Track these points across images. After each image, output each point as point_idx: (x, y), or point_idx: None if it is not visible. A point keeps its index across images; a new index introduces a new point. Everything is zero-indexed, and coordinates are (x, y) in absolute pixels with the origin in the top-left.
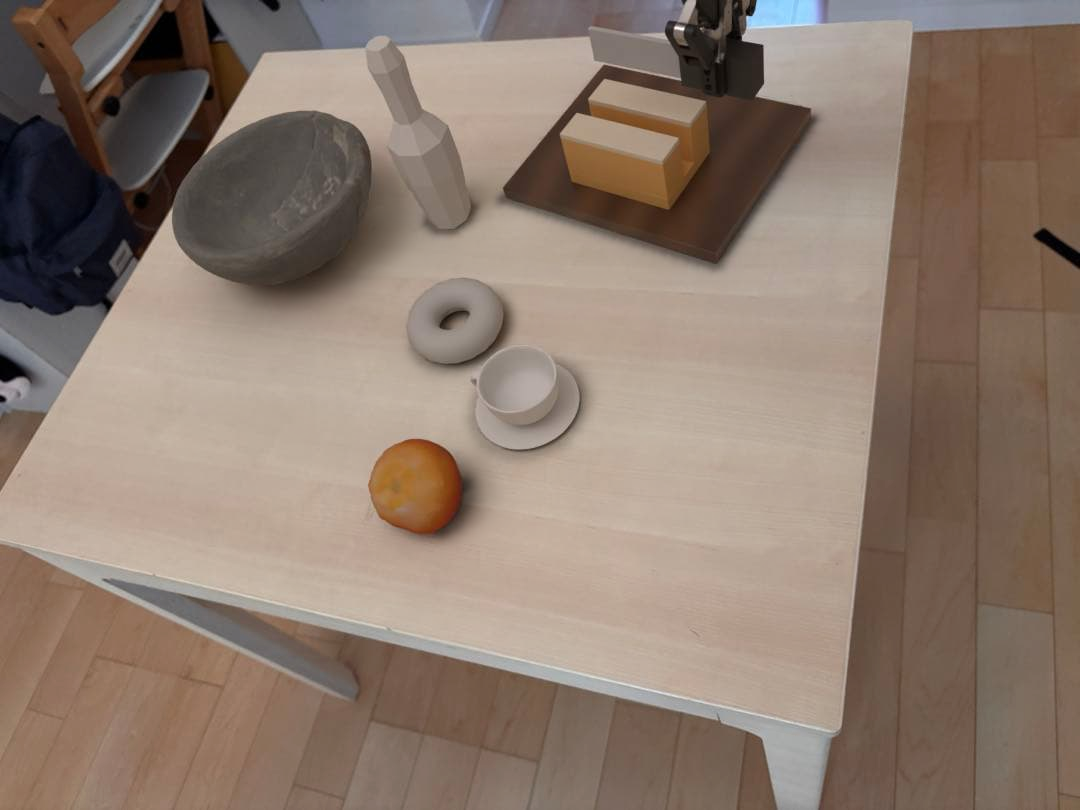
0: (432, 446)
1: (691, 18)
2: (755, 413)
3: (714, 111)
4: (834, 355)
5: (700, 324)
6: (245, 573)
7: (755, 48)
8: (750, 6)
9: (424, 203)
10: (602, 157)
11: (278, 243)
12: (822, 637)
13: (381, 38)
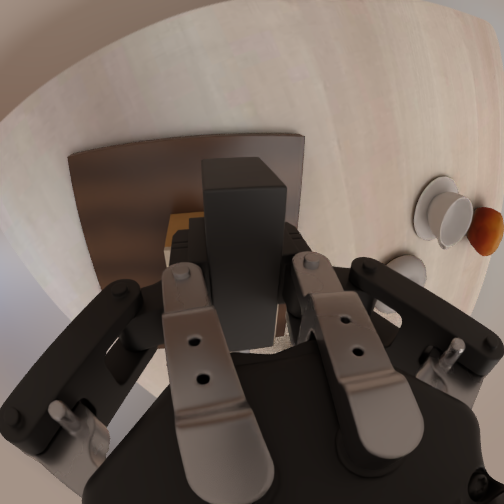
0: (491, 236)
1: (474, 385)
2: (414, 60)
3: (117, 243)
4: (354, 12)
5: (364, 120)
6: (485, 267)
7: (229, 203)
8: (130, 302)
9: None
10: None
11: None
12: (479, 24)
13: None
